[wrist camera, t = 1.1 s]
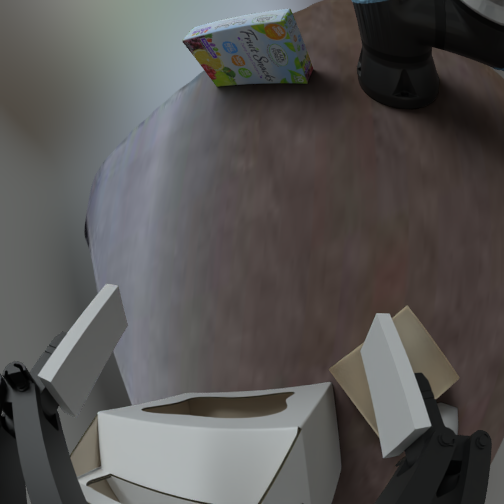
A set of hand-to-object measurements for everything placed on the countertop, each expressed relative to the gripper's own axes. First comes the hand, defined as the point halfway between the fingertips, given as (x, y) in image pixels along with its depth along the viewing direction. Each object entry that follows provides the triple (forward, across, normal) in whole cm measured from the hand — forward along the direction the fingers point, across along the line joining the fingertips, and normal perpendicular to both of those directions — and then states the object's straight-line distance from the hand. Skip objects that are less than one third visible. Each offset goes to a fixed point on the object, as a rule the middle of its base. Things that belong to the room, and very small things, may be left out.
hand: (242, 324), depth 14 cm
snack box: (+50, -3, +18) cm, 54 cm away
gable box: (+8, +3, -28) cm, 29 cm away
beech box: (+10, +18, -15) cm, 25 cm away
